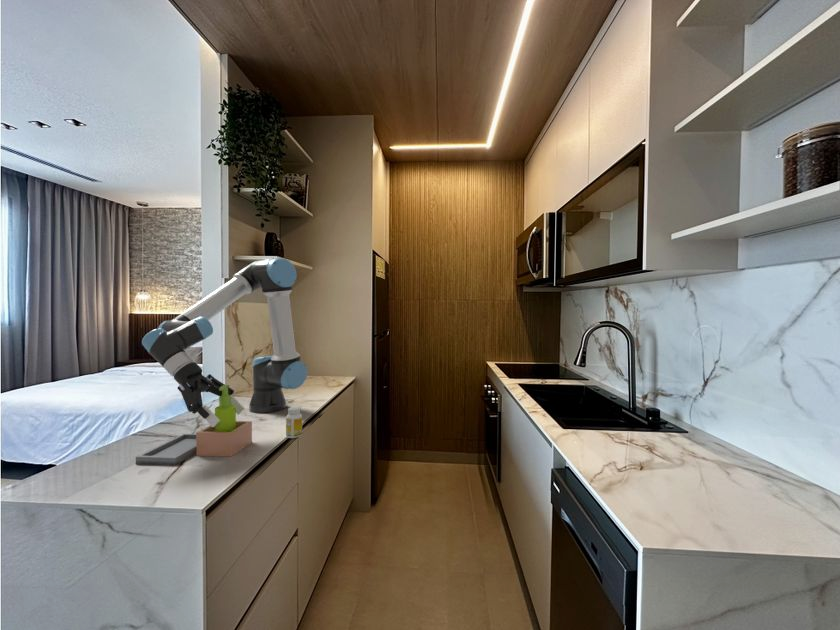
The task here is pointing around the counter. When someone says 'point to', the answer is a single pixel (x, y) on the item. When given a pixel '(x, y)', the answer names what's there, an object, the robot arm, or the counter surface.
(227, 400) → the soap dispenser
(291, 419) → the supplement bottle
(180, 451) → the grey tray
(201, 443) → the terracotta open box
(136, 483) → the counter surface
